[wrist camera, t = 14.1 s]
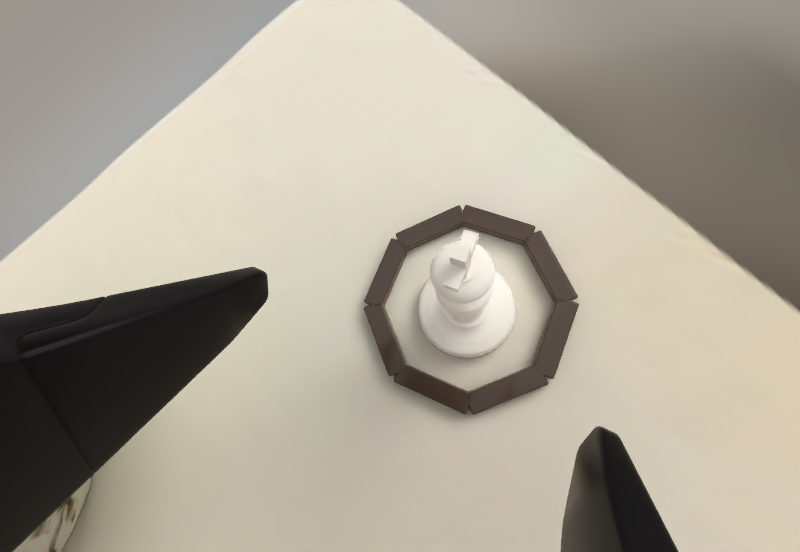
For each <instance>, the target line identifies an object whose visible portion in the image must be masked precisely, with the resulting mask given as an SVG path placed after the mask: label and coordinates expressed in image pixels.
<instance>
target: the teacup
mask: <svg viewBox="0 0 800 552" xmlns="http://www.w3.org/2000/svg"><path fill="white" fill-rule="evenodd" d="M90 485H91V477H90V478H89V479H88V480H87V481H86V482H85V483H84V484H83V485H82V486H81V487H80V488H79V489H78V490H77V491H76V492H75V493H74V494H73V495H72V496H71V497H70V498H69V499H67V500H66V501H65V502H64V503H63V504H62V505H61V506H60V507H59V508H58V509H57V510H56V511H55V512H54V513H53V514H52V515H51V516H50V517H49V518H48V519H47V520H46V521H45V522H44V523H42V524H41V525H40V526H39V527H38V528H37V529H36V530H35V531H34V532H33V533H32V534H31V535H30V536H29V537H28V538H27V539H26V540H25V541H24V542H23V543H22V544H21V545H20V546H18V547H17V548H16V549H15V550H14V551H13V552H60V551H61V550H62V548H63V547H64V545H65V543H66V541H67V540H68V538H69V536H70V534H71V532H72V530H73V528H74V526H75V523H76V521H77V519H78V516H79V514H80V511H81V509H82V507H83V504H84V502H85V500H86V497H87V494H88V492H89V488H90Z"/></svg>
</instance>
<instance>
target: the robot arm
mask: <svg viewBox="0 0 800 552" xmlns="http://www.w3.org/2000/svg"><path fill="white" fill-rule="evenodd" d="M267 298H268V281H267V274H266V273H265V272H264V271H262V270H260V269H258V268H255V267H249V268H244V269H239V270H234V271H229V272H224V273H219V274H214V275H209V276H204V277H199V278H194V279H189V280H184V281H179V282H174V283H169V284H164V285H160V286H155V287H150V288H145V289H140V290H135V291H130V292H125V293H120V294H115V295H110V296H107V297H100V298H95V299H90V300H85V301H79V302H74V303H69V304H63V305H58V306H51V307H45V308H39V309H33V310H26V311H19V312H13V313H6V314H0V552H13V551H14V550H15V549H16V548H17V547H18V546H20V545H21V544H22V543H23V542H24V541H25V540H26V539H27V538H28V537H29V536H30V535H31V534H32V533H33V532H34V531H35V530H36V529H37V528H38V527H39V526H40V525H41V524H42V523H44V522H45V521H46V520H47V519H48V518H49V517H50V516H51V515H52V514H53V513H54V512H55V511H56V510H57V509H58V508H59V507H60V506H61V505H62V504H63V503H64V502H65V501H66V500H67V499H69V498H70V497H71V496H72V495H73V494H74V493H75V492H76V491H77V490H78V489H79V488H80V487H81V486H82V485H83V484H84V483H85V482H86V481H87V480H88V479H89V478H90V477H92V476H93V474H94V472H96V471H97V470H99V469H100V468H101V467H102V466H103V465H104V464H105V463H106V462H107V461H108V460H109V459H110V458H111V457H112V456H113V455H114V454H115V453H116V452H117V451H118V450H119V449H120V448H121V447H123V446H124V445H125V444H126V443H127V442H128V441H129V440H130V439H131V438H132V437H133V436H134V435H135V434H136V433H137V432H138V431H139V430H140V429H141V428H142V427H143V426H144V425H145V424H147V423H148V422H149V421H150V420H151V419H152V418H153V417H154V416H155V415H156V414H157V413H158V412H159V411H160V410H161V409H162V408H163V407H164V406H165V405H166V404H167V403H168V402H169V401H171V400H172V399H173V398H174V397H175V396H176V395H177V394H178V393H179V392H180V391H181V390H182V389H183V388H184V387H185V386H186V385H187V384H188V383H189V382H190V381H191V380H192V379H193V378H195V377H196V376H197V375H198V374H199V373H200V372H201V371H202V370H203V369H204V368H205V367H206V366H207V365H208V364H209V363H210V362H211V361H212V360H213V359H214V358H215V357H216V356H217V355H219V354H220V353H221V352H222V351H223V350H224V349H225V348H226V347H227V346H228V345H229V344H230V343H231V342H232V341H233V340H234V338H235V337H236V336H237V335H238V334H239V333H240V332H241V330H242V329H243V328H244V327H245V326H246V325H247V323H248V322H249V321H250V320H251V319H252V317H253V316H254V315H255V314H256V313H257V312H258V310H259V309H260V308H261V307H262V306H263V305H264V303H265V302H266V300H267ZM561 552H678V550H677V548H676V546H675V544H674V542H673V540H672V538H671V536H670V534H669V532H668V531H667V529H666V527H665V525H664V523H663V521H662V519H661V517H660V515H659V513H658V511H657V509H656V507H655V505H654V503H653V501H652V499H651V497H650V495H649V494H648V492H647V490H646V488H645V486H644V484H643V482H642V480H641V478H640V476H639V474H638V472H637V470H636V468H635V466H634V464H633V462H632V460H631V458H630V457H629V455H628V453H627V451H626V449H625V447H624V445H623V443H622V441H621V439H620V437H619V436H618V435H617V434H616V433H614V432H611V431H609V430H607V429H605V428H603V427H600V426H598V427H596V428H594V429H593V431H592V432H591V433H590V434H589V436H588V437H587V438H586V439H585V440H584V442H583V443H582V444H581V445H580V447H579V449H578V452H577V455H576V460H575V465H574V470H573V475H572V479H571V484H570V489H569V494H568V499H567V504H566V509H565V514H564V520H563V528H562V539H561Z"/></svg>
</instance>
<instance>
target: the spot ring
mask: <svg viewBox="0 0 800 552" xmlns="http://www.w3.org/2000/svg"><path fill="white" fill-rule="evenodd" d="M462 226H466V227H469V228H472V229H475V230H478V231H481V232H484V233H488V234H491V235H494V236H497V237H500V238H503V239H506V240H509V241H512V242H515V243H519V244H522V245H524V247H525V249H526V251H527V253H528V254H529V256H530V258H531V260H532V262H533V264H534V266H535V267H536V269H537V271H538V273H539V275H540V277H541V279H542V280H543V282H544V284H545V286H546V288H547V290H548V292H549V294H550V295H551V297H552V299H553V301H554V305H553V308H552V311H551V313H550V316H549V319H548V322H547V325H546V328H545V330H544V333H543V336H542V339H541V342H540V345H539V347H538V350H537V353H536V356H535V359H534V362H533V365H532V366H530V367H528V368H525V369H523V370H520V371H518V372H516V373H513V374H511V375H508V376H506V377H503V378H501V379H498V380H496V381H494V382H491V383H489V384H486V385H484V386H481V387H479V388H476V389H474V390H472V391H469V392H468V391H466V390H464V389H461V388H459V387H457V386H455V385H452V384H450V383H448V382H446V381H443V380H441V379H439V378H437V377H434V376H432V375H430V374H427V373H425V372H423V371H421V370H418V369H416V368H414V367H412V366H409V365H407V363H406V360H405V358H404V355H403V353H402V350H401V347H400V345H399V342H398V340H397V337H396V335H395V332H394V330H393V327H392V324H391V322H390V319H389V317H388V314H387V312H386V309H385V306H384V305H385V303H386V301H387V298H388V296H389V294H390V291H391V289H392V287H393V284H394V282H395V279H396V277H397V275H398V272H399V270H400V268H401V265H402V263H403V261H404V258H405V256H406V254H407V251H408V250H410V249H413V248H415V247H417V246H419V245H422V244H424V243H426V242H428V241H430V240H433V239H435V238H437V237H439V236H442V235H444V234H446V233H448V232H451V231H453V230H455V229H457V228H460V227H462ZM534 230H535V226H533V225H530V224H527V223H523V222H520V221H517V220H514V219H510V218H507V217H504V216H501V215H497V214H494V213H491V212H488V211H484V210H481V209H478V208H474V207H471V206H468V205H466V206H465V207H464V210H463V211H462V209H461V207H460V205H459V206H456V207H454V208H452V209H450V210H447V211H445V212H443V213H441V214H439V215H436V216H434V217H432V218H430V219H428V220H425V221H423V222H421V223H419V224H416V225H414V226H412V227H410V228H408V229H405V230H403V231H401V232H399V233H397V234H396V236H397V239H398V240H395V239H391V241H390V243H389V245H388V247H387V250H386V252H385V254H384V257H383V259H382V261H381V264H380V266H379V268H378V271H377V273H376V275H375V277H374V280H373V282H372V284H371V287H370V289H369V291H368V294H367V296H366V298H365V300H364V302H365V303H367V304H369V306H367V307H365V308H364V310H365V313H366V316H367V318H368V321H369V324H370V326H371V329H372V332H373V334H374V337H375V340H376V342H377V345H378V348H379V350H380V353H381V356H382V359H383V361H384V364H385V367H386V369H387V372H388V375H389V376H394V375H396V377H395V379H394V382H396V383H398V384H400V385H402V386H405V387H407V388H409V389H411V390H413V391H415V392H418V393H420V394H422V395H424V396H426V397H428V398H431V399H433V400H435V401H437V402H439V403H441V404H444V405H446V406H448V407H450V408H452V409H455V410H457V411H459V412H461V413H463V414H466V413H467V410H468V408H469V407H470V410H471V412H472V414H476V413H479V412H481V411H484V410H486V409H489V408H491V407H494V406H496V405H499V404H501V403H504V402H506V401H508V400H511V399H513V398H516V397H518V396H521V395H523V394H526V393H528V392H531V391H533V390H536V389H538V388H541V387H543V386H546V385H548V382H547V380H546V378H545V377H548V378H550V379H553V378H554V376H555V373H556V370H557V367H558V364H559V361H560V359H561V356H562V353H563V350H564V347H565V344H566V341H567V338H568V335H569V332H570V329H571V326H572V323H573V320H574V317H575V314H576V312H577V309H578V306H579V304H578V303H576V302H573V301H572V300H575V299H576V298H577V297H578V296H577V294H576V292H575V290H574V289H573V287H572V285H571V283H570V281H569V280H568V278H567V276H566V274H565V272H564V271H563V269H562V267H561V265H560V264H559V262H558V260H557V258H556V256H555V255H554V253H553V251H552V249H551V247H550V246H549V244H548V242H547V240H546V239H545V237H544V235H543V233H542V231H538V232H536V233H534Z"/></svg>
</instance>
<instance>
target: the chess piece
mask: <svg viewBox="0 0 800 552" xmlns="http://www.w3.org/2000/svg"><path fill="white" fill-rule="evenodd" d="M478 239H479V234H478V233H474V232H471V231H468V230H465V229H464V231H463V233H462V236H461V238H460V241H456V242H452V243H450V244H448V245H446V246H444V247H443V248H441V249H440V250H439V251H438V252H437V254H436V255H435V257H434V258H433V260H432V263H431V267H430V278H429V279H428V281H427V282H426V283H425V285H424V287H423V289H422V292H421V295H420V298H419V308H418V311H419V319H420V323H421V326H422V328H423V331H424V332H425V334H426V336H427V337H428V338H429V340H430V341H431V342H432V343H433V344H434V345H435V346H436V347H438V348H439V349H440V350H442V351H444V352H446V353H448V354H450V355H453V356H457V357H465V358H471V357H478V356H482V355H485V354H487V353H490V352H491V351H493V350H495V349H496V348H498V347H499V346H500V345H501V344H502V343H503V342H504V341H505V340H506V338H507V337H508V335H509V334H510V332H511V330H512V327H513V325H514V321H515V314H516V308H515V301H514V297H513V293H512V291H511V289H510V287H509V285H508V283H507V282H506V281H505V279H504V278H503V277H502V276H501V275H500V274H499V273H498V272H496V271H495V267H494V263H493V260H492V258H491V256H490V255H489V253H488V252H487V251H486V250H485V249H484V248H483V247H481V246H480V245H478V244H477V242H478Z"/></svg>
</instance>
